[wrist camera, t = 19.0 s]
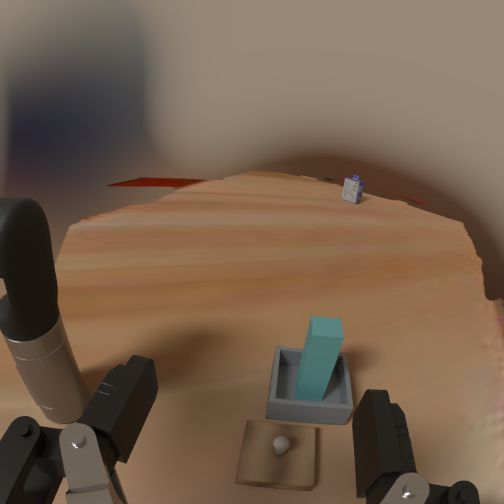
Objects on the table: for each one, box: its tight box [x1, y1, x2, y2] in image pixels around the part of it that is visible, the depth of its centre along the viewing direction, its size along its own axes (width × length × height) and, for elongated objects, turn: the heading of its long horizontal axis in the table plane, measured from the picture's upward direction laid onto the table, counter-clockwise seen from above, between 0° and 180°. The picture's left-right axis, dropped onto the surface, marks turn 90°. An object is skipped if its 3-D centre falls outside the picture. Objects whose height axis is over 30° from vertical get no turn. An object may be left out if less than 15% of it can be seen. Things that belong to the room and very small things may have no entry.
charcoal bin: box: [266, 346, 354, 425], centre depth 48 cm, size 13×13×4 cm
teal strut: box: [295, 316, 344, 401], centre depth 45 cm, size 4×4×14 cm
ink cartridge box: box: [342, 175, 364, 203], centre depth 164 cm, size 10×6×14 cm, turn 38°
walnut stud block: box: [235, 420, 315, 491], centre depth 35 cm, size 10×10×6 cm
